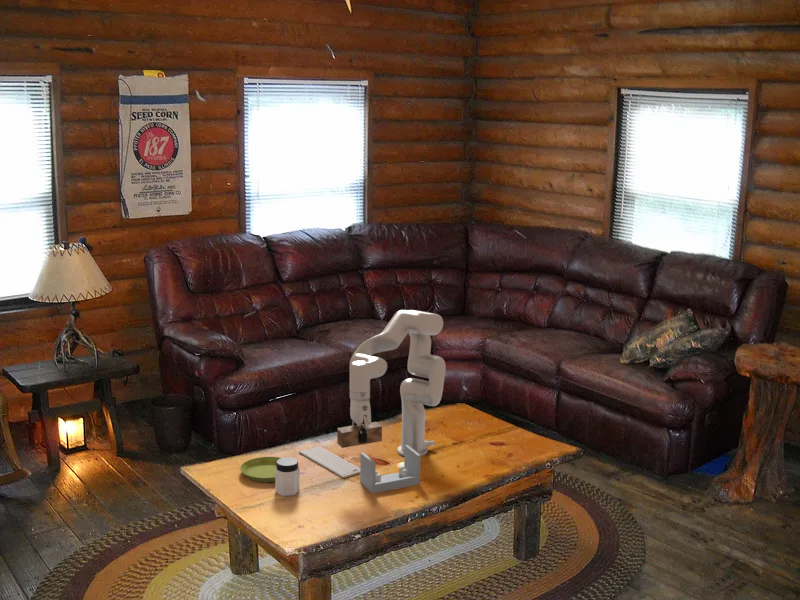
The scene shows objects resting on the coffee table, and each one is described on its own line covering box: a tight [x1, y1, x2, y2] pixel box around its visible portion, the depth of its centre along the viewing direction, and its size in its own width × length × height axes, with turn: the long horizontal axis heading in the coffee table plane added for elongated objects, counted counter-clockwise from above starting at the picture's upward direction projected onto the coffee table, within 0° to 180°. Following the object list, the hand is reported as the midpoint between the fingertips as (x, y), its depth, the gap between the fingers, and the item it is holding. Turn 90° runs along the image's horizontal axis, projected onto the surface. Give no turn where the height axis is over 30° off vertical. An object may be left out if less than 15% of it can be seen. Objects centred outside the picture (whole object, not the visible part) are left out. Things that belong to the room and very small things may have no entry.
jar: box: [274, 456, 300, 497], centre depth 340 cm, size 9×8×12 cm
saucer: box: [239, 456, 281, 483], centre depth 356 cm, size 21×21×3 cm
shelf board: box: [336, 421, 383, 449], centre depth 344 cm, size 16×5×6 cm, turn 115°
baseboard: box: [299, 445, 360, 480], centre depth 369 cm, size 31×3×12 cm
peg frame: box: [359, 445, 422, 494], centre depth 349 cm, size 20×11×12 cm, turn 116°
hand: (359, 439), depth 344 cm, fingers closed on shelf board, 5 cm apart
